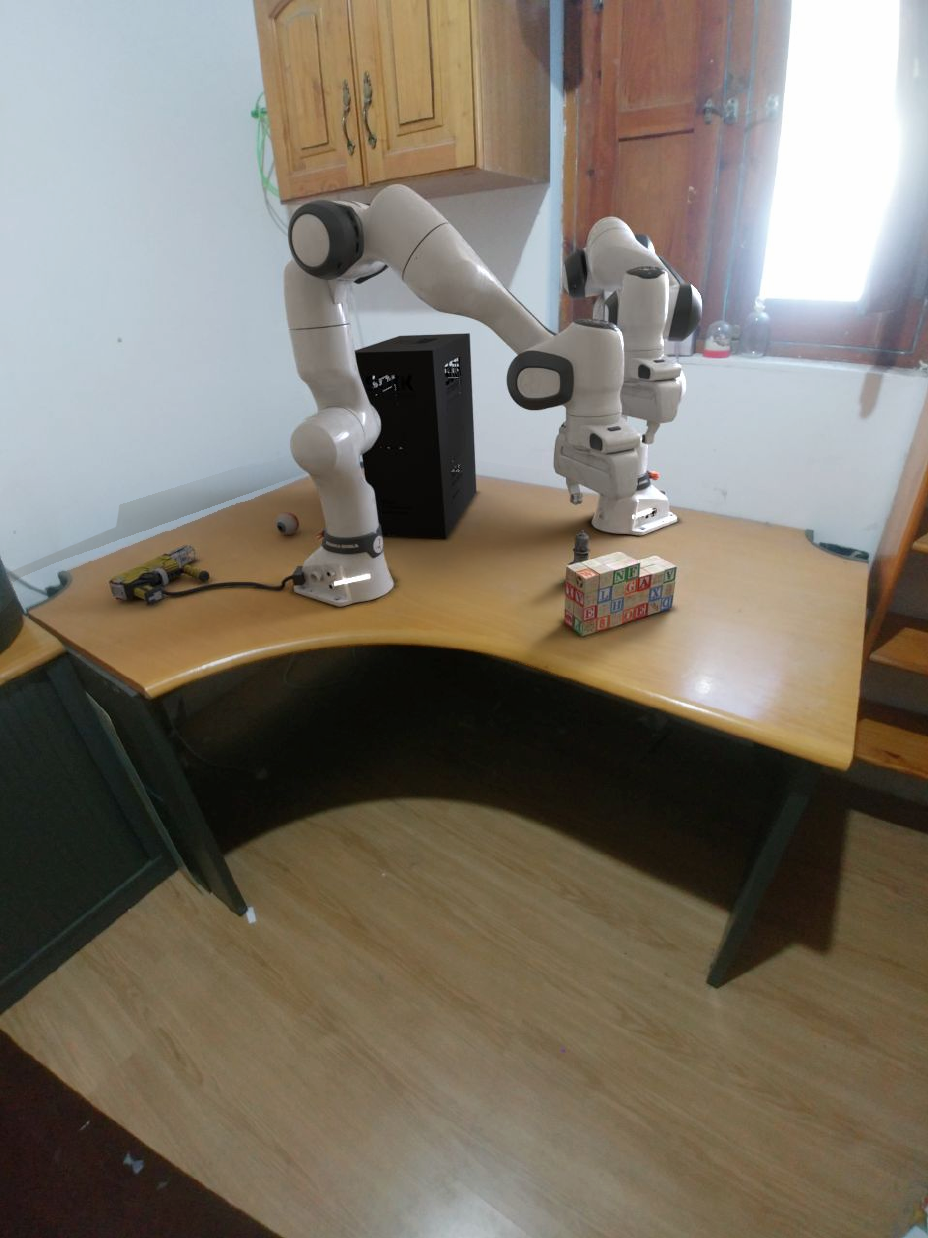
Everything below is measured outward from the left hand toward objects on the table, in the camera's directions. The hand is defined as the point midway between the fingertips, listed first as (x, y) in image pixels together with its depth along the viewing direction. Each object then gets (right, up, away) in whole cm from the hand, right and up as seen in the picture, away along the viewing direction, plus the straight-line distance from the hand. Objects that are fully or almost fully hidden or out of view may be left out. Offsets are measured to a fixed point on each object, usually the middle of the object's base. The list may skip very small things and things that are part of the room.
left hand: (590, 510), depth 105 cm
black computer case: (-32, +12, +70) cm, 78 cm away
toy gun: (-90, -11, +37) cm, 98 cm away
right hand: (+12, +17, +16) cm, 27 cm away
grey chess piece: (+3, -11, +27) cm, 29 cm away
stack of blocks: (+8, -18, +13) cm, 24 cm away
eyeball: (-70, +4, +60) cm, 92 cm away
